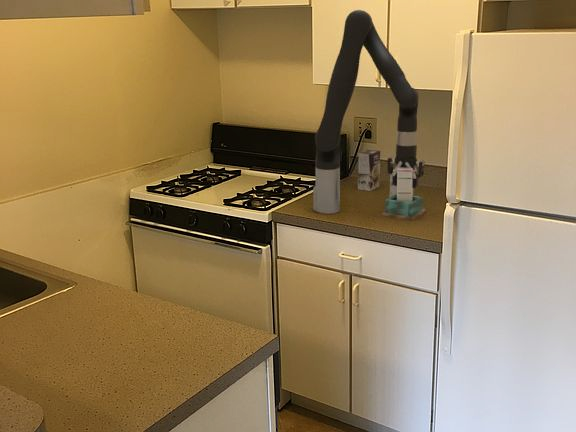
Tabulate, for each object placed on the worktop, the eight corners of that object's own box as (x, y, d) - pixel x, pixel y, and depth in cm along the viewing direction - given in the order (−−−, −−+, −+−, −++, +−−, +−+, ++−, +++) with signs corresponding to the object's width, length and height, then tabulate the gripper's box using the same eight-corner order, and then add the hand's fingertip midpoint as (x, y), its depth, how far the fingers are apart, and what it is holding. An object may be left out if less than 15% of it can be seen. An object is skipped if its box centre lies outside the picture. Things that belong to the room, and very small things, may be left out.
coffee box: (370, 191, 274) (371, 154, 269) (357, 189, 277) (357, 152, 272) (379, 186, 281) (380, 150, 276) (366, 184, 284) (367, 149, 279)
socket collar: (380, 215, 241) (381, 200, 239) (394, 206, 251) (395, 192, 249) (413, 221, 234) (413, 205, 232) (426, 211, 244) (427, 196, 243)
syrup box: (412, 206, 238) (413, 168, 234) (396, 205, 239) (397, 168, 235) (412, 202, 244) (413, 164, 239) (396, 201, 245) (397, 164, 240)
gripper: (384, 142, 235) (383, 186, 240) (421, 146, 228) (419, 191, 233) (392, 139, 241) (391, 182, 246) (428, 142, 234) (426, 186, 239)
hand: (404, 186), depth 239 cm, fingers closed on syrup box, 7 cm apart
